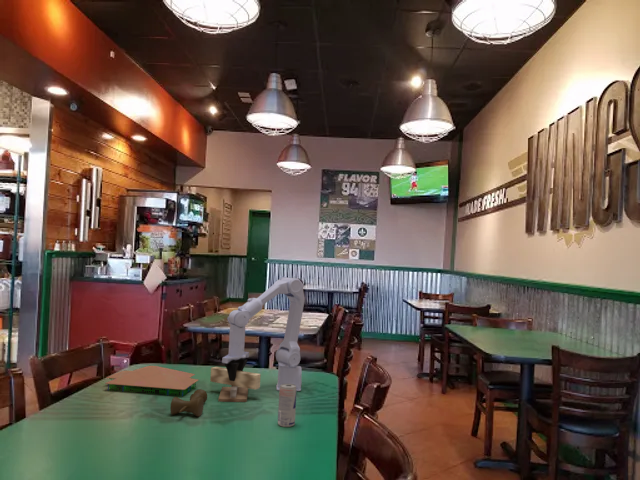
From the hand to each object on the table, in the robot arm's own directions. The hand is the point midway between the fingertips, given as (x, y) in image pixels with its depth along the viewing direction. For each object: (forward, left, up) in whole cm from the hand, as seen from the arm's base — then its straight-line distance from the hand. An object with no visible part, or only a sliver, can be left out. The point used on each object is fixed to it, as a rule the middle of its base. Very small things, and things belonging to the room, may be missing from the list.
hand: (234, 379), depth 182 cm
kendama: (+13, +19, -6) cm, 24 cm away
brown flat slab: (+31, -11, -6) cm, 34 cm away
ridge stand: (0, 0, -6) cm, 6 cm away
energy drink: (-18, +31, -6) cm, 36 cm away
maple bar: (0, 0, -2) cm, 2 cm away
